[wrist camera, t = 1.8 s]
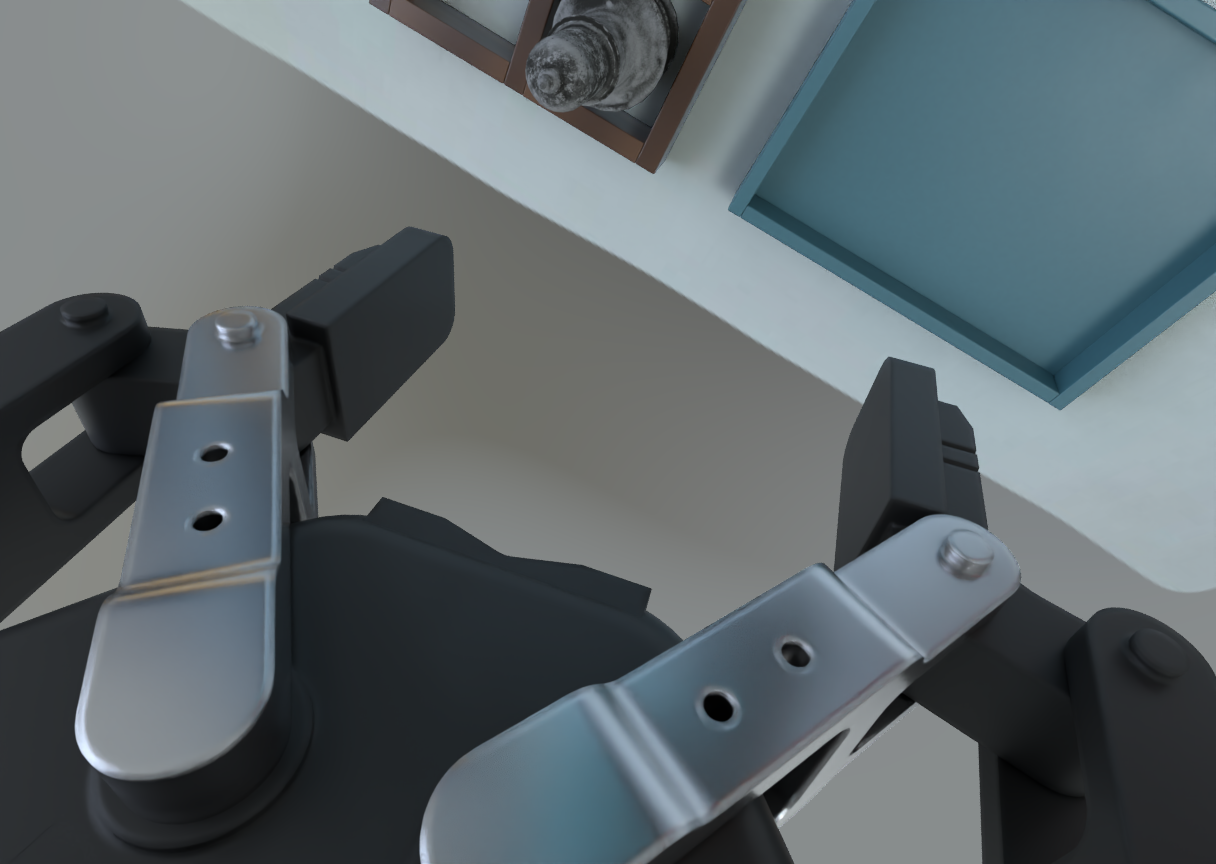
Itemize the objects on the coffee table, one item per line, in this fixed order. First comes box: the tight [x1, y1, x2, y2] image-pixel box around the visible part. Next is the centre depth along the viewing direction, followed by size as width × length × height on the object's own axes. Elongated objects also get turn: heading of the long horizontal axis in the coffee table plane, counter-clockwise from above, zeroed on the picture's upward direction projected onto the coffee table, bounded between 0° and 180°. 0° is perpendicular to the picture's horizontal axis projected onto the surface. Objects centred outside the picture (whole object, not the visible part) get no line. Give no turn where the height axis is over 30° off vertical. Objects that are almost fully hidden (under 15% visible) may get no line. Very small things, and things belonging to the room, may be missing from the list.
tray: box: [728, 0, 1216, 410], centre depth 33 cm, size 22×17×3 cm
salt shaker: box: [525, 0, 678, 112], centre depth 31 cm, size 6×6×12 cm
